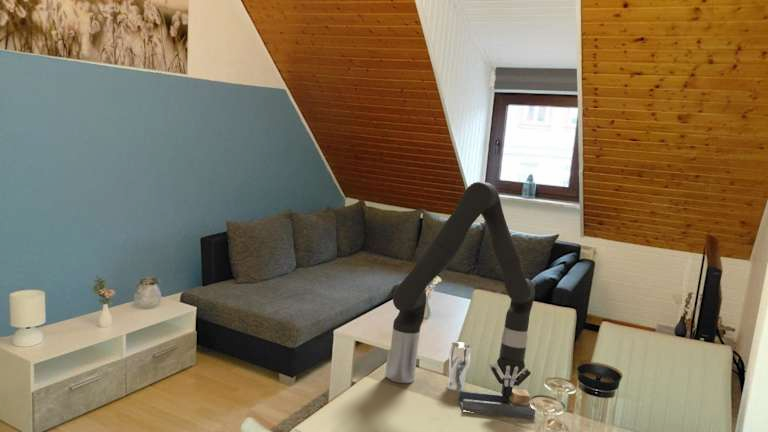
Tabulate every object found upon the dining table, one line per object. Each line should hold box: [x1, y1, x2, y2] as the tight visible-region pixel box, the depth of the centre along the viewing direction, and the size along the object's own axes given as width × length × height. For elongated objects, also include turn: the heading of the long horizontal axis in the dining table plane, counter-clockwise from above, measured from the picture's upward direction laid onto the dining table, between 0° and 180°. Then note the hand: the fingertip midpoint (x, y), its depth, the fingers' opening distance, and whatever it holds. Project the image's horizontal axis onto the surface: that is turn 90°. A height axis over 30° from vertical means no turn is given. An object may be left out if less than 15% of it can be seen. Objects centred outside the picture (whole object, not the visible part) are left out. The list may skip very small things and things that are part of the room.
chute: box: [457, 390, 536, 420], centre depth 169 cm, size 22×9×4 cm, turn 91°
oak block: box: [508, 388, 531, 406], centre depth 169 cm, size 5×5×5 cm
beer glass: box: [446, 341, 472, 393], centre depth 183 cm, size 7×7×15 cm
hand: (506, 397), depth 169 cm, fingers closed
